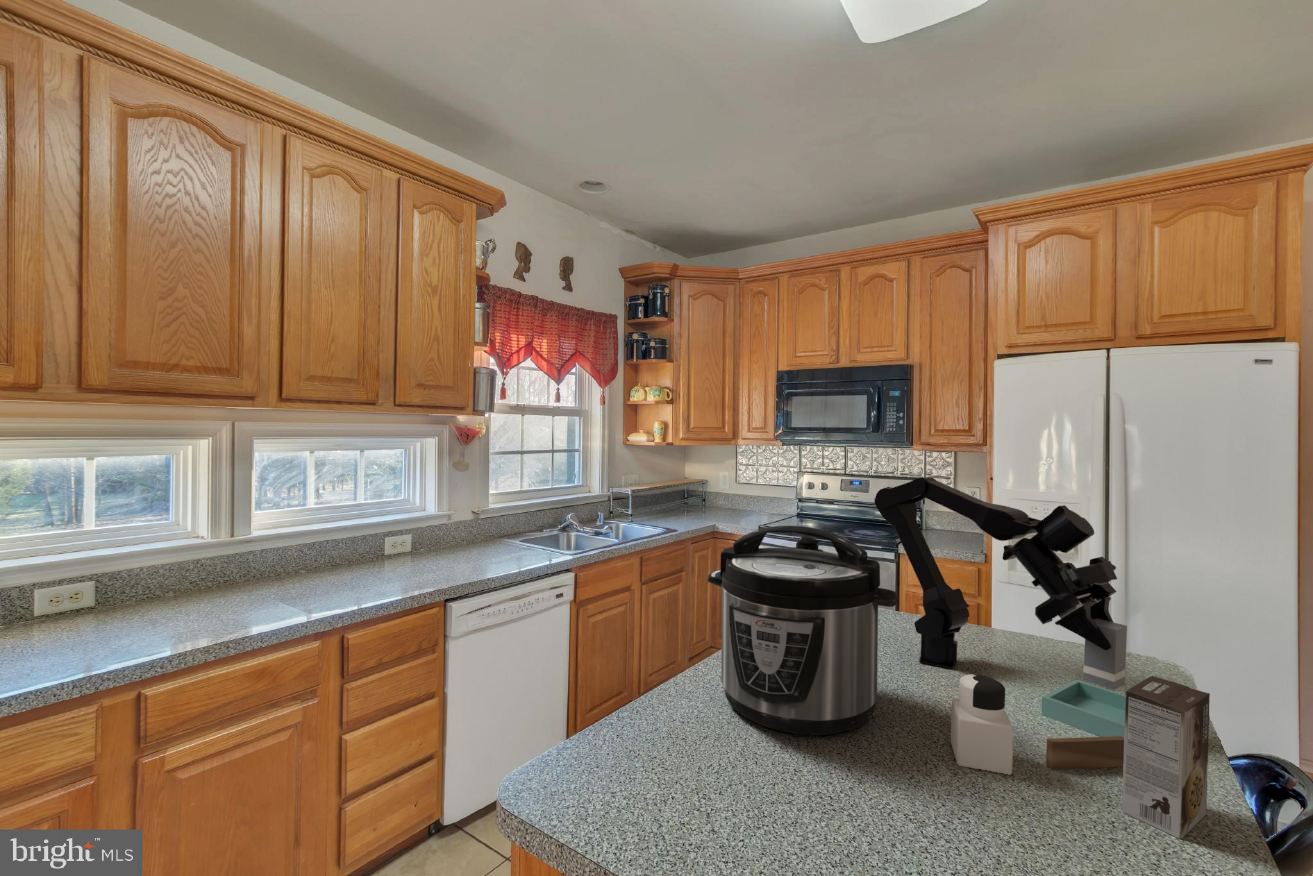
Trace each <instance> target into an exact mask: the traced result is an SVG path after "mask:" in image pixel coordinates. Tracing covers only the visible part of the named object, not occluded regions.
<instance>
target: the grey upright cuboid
mask: <svg viewBox="0 0 1313 876" xmlns="http://www.w3.org/2000/svg"><path fill="white" fill-rule="evenodd" d="M1094 622H1095V623H1096V625H1097V626H1098V627H1099V629H1100V630H1101V632H1102V633H1103V634H1104V636H1105V637H1106V639H1107V640H1108V642H1109V643H1110V645H1111V648H1110V649H1108V650H1104V649H1102V648H1100V647H1099V646H1097V645H1095V644H1093V643H1092V642H1090V641H1088V640H1086V639H1085V638H1084V659H1083V666H1082V667H1083V668H1082V669H1083V672H1082V673H1083V682H1088V683H1090V684H1093V685H1094V684H1095V685H1096V686H1099V687H1102V688H1105V689H1108V690H1111V691H1114V690H1116V689H1118V688H1119V689H1120V687H1122V686H1124V685H1126V684H1125V683H1126V674H1127V673H1126V670H1127V669H1126V663H1127V662H1126V661H1127V640H1128V639H1127V637H1128V636H1127V635H1128V625H1125V624H1121V623H1116V622H1114V621H1113V622H1114V623H1113V622H1109V621H1105V620H1101V619H1094Z"/></svg>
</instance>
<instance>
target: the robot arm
mask: <svg viewBox="0 0 1313 876" xmlns="http://www.w3.org/2000/svg"><path fill="white" fill-rule="evenodd" d="M925 499H927V500H930V502H934V503H935V504H937V505H940V506H941V507H944V508H946V509H948V510H950V511H953V512H954V513H957V514H959V515H961V516H964V517H965V518H968V519H969V520H971V521H972V522H974V524H976V526H978V528H979V529H980V530H981V531H983V532H985V534H987V535H988V536H990V537H992V538H993V539H995V540H997V541H1001V542H1005V541H1010V540H1018V539H1019V540H1018V541H1016V542H1015V543H1014V544H1013V545H1012V544H1008V545H1006V544H1005V545H1003V552H1002V553H1003V554H1002V560H1004V561H1009V560H1013V559H1017V561H1019V563H1020V564H1021V565H1022V566H1023V567H1024V569H1025V570H1026V571H1027V572H1028V573H1029V574H1030V576H1031V577H1032V578H1033V580H1032V581H1031V584H1032V585H1033V586H1034V587H1035V588H1036V587H1040V588H1041V589H1042V590H1043V591H1044V592H1045V593H1046V595H1047V596H1048V597H1049V598H1048V599H1046V600H1045V601H1043V602H1042V603H1040V604H1038V605H1037V606H1036V607H1035V608H1034V609H1035V610H1034V611H1035V612H1034V615H1035V617H1036V618H1037V619H1038V621H1039V622H1040V623H1041V624H1042V625H1045V624H1048V623H1051V622H1052V621H1053V620H1054V619H1055V618H1057V617H1059V618H1060V619H1058V620H1056V621H1055V622H1054V624H1055V625H1056V626H1060V627H1062V628H1064V629H1066V630H1069V631H1070V632H1072V633H1074V634H1075V635H1078V636H1079V637H1081V638H1083V639H1084V640H1085V639H1086V640H1088V641H1090V642H1092V643H1093V644H1095V645H1097V646H1099V647H1100V648H1102V649H1104V650H1108V649H1110V648H1111V645H1110V643H1109V642H1108V640H1107V639H1106V637H1105V636H1104V634H1103V633H1102V632H1101V630H1100V629H1099V627H1098V626H1097V625H1096V623H1095V622H1094V619H1101V620H1105V621H1109V622H1113V623H1115V622H1114V621H1113V618H1112V615H1111V614H1110V611H1109V606H1110V602H1111V600H1112V598H1111V596H1112V595H1115V594H1116V593H1117V590H1116V588H1114V587H1113V585H1111V584H1110V582H1111V581H1114V580H1115V581H1116V580H1118V576H1117V575H1116V573H1115V570H1117V567H1116V565H1114V564H1112V561H1111V560H1107V559H1106V558H1105V557H1104V556H1099V557H1094V558H1090V559H1089V563H1088V564H1089V565H1084V566H1081V567H1076V566H1075V564H1073V563H1072V562H1069V561H1068V562H1067V561H1066V562H1064V561H1063V560H1062V559H1061V558H1060V556H1058V554H1057V552H1060V553H1062V554H1068V553H1069V552H1071V551H1072V550H1073V549H1075V548H1077V547H1078V546H1079V545H1081V544H1082V543H1084V542H1085V541H1087V540H1088V539H1090V538H1091V537H1092V536H1094V535H1095V530H1094V528H1093V526H1092V525H1091V523H1090V522H1089V521H1088V520H1087V519H1086V518H1085V517H1082V516H1081V515H1080V514H1078V513H1077V512H1075V511H1073V510H1071V509H1069V508H1068V506H1066V505H1065V504H1063V505H1058V506H1056V507H1055V508H1054V509H1053V510H1052V512H1051V513H1050V514H1048V515H1047V516H1045V517H1044V518H1043V519H1038V518H1034V517H1030V516H1029V515H1028V514H1027V513H1026V512H1025V511H1023V510H1021V509H1020V508H1015V507H1011V506H1006V505H1003V504H996V503H992V502H991V503H990V502H987V501H984V500H982V499H980V498H977V497H974V496H973V495H970V494H967V493H966V492H963V491H961V490H959V489H956V488H954V487H952V486H950V485H947V484H945V483H943V482H942V481H941V482H940V481H938V480H937V479H935V478H934V477H931V476H925V477H923V476H922V477H921V476H920V477H917V478H915V479H913V480H911V481H909V482H905V483H902V484H900V485H896V486H894V487H884V488H880V489H879V490H878V491H877V493H876V494H875V497H874V506H875V507H876V509H877V512H879V514H880V515H881V518H882V519H883V520H884V521H886V522H887V523H888V524H889V525H890V526H891V527H893V528H894V530H895V531H896V535H897V537H898V539H899V541H900V543H901V545H902V547H903V549H904V551H905V554H906V557H907V558H908V561H909V563H910V564H911V567H912V569H913V571H914V574H915V575H916V576H915V577H916V579H917V580H918V582H919V585H920V587H921V589H922V608H923V610H924V615H923V616H921V617H920V618H918V619H917V620H915V622H914V623H913V625H914V628H915V632H916V634H919V635H920V656H919V660H918V662H919V663H921V664H926V665H929V666H930V665H931V666H935V667H940V668H945V669H950V670H953V669H954V668H955V667H954V666H955V665H956V664H957V661H958V645H959V644H958V640H955V637H956V636H955V635H956V633H960V632H961V629H962V627H963V626H965V625H966V624H967V623H968V620H969V618H970V612H969V609H968V608H970V605H969V603H967V602H966V600H965V598H964V595H963V592H962V590H961V588H959V587H958V588H954V589H953V588H952V587H951V586H949V585H948V583H946V581H945V578H944V576H943V575H942V572H941V571H940V568H939V566H938V563H937V562H936V560H935V558H934V556H933V554H932V552H931V549H930V547H929V545H928V543H927V541H926V538H925V537H924V535H923V532H922V530H921V528H920V526H919V523H918V521H917V519H918V518H917V516H918V515H917V514H918V507H917V503H919V502H922V501H923V500H925ZM1030 534H1035V535H1034V536H1032V537H1031V538H1028V537H1026V536H1028V535H1030Z"/></svg>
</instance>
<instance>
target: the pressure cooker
mask: <svg viewBox="0 0 1313 876" xmlns="http://www.w3.org/2000/svg"><path fill="white" fill-rule="evenodd" d="M768 533H793V534H794V533H795V534H799V535H802V536H800V537H799V538H798V539H796V543H795V547H791V548H790V547H762V548H761V547H760V546H761V544H762V543H763V541H764V539H765V537H766V535H767V534H768ZM816 538H818V539H823V540H827V541H830V542H831V543H832V546H833V547H834V549H835V552H833V551H828V550H827V551H826V550H824V549H820V548H819V547H820V546H819V543H820V541H819V540H817V539H816ZM719 563H720V569H717V570H714V571H712V572H710V573H709V574H708V576H707V579H706V580H707V581H706V582H707V583H710V584H712V585H715V586H717V587H721V666H720V667H721V676H720V679H721V685H722V688H723V690H724V695H725V698H726V700H727V701H728V703H729V704H730V705H731V707H732V708H733V709H734V710H735V711H736V712H738V714H740V715H742V716H743V717H745V718H747V719H748V720H750V721H752V722H753V723H756V724H759V725H761V726H763V727H765V728H770V729H773V730H776V731H780V732H786V733H791V734H797V735H813V736H821V735H822V736H823V735H833V734H834V735H835V734H838V733H843V732H848V731H851V730H853V729H857V728H858V727H860V726H862V725H863V724H864V723H865V722H867V721H868V719H869V718H870V717H871V716H872V714H873V711H874V710H875V708H876V702H877V698H878V663H879V661H878V660H879V659H878V658H879V656H878V655H879V654H878V653H879V652H878V651H879V650H878V649H879V647H878V645H879V644H878V642H879V606H880V607H886V608H887V607H888V608H893V607H895V606H896V605H897V604H898V595H899V594H898V592H897V591H895V590H891V589H887V588H882V587H881V565H880V563H879V561H878V560H876V559H868V551H866V550H865V549H864V548H863V547H861V546H860V545H858V544H856V543H855V542H853V541H852V540H849V539H848V538H845V537H843V536H841V535H839V534H836V533H833V532H832V531H831V532H830V531H827V530H823V529H819V528H816V527H815V528H814V527H808V526H800V525H776V526H768V527H765V528H759V529H757V530H754V531H751V532H749V533H746V534H744V535H742V536H740V537H739V538H738V539H736V540H735V541H734V542H733V544H732V546H729V547H726V548H723V549H722V550H721V551H720V562H719Z"/></svg>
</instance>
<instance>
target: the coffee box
mask: <svg viewBox="0 0 1313 876" xmlns="http://www.w3.org/2000/svg"><path fill="white" fill-rule="evenodd" d="M1125 695H1126V707H1125V737H1124V765H1123V767H1122V768H1123V769H1122V774H1123V775H1122V790H1121V791H1122V793H1121V796H1122V797H1121V798H1122V799H1121V811H1122V813H1124V814H1126V815H1127V816H1130V817H1133V818H1135V819H1136V820H1138V821H1141V822H1143V823H1145V824H1147V825H1149V826H1151V827H1154V828H1156V829H1157V830H1160V831H1161V832H1164V833H1167V834H1168V835H1170V836H1173V837H1175V838H1176V839H1180V840H1181V839H1184V837H1185V836H1187V834H1188V833H1190V832H1191V830H1192V829H1193V828H1194V827H1196V825H1197V824H1198V823H1199V822H1200V821H1202V819H1203V818H1204V817H1205V816H1206V815H1207V802H1208V801H1207V800H1208V799H1207V796H1208V795H1207V794H1208V765H1209V763H1208V762H1209V738H1210V737H1209V733H1210V728H1209V727H1210V697H1211V694H1210V693H1209V692H1205V691H1201V690H1198V689H1195V688H1191V687H1189V686H1187V685H1185V684H1180V683H1178V682H1175V681H1171V680H1167V679H1164V678H1161V677H1158V676H1153V675H1151V676H1149V677H1147V678H1145V679H1143V680H1142V681H1140V682H1139V683H1138V682H1137V683H1136V684H1135V685H1133V686H1132V687H1130V688H1129V689H1127V690H1126V691H1125Z"/></svg>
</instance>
